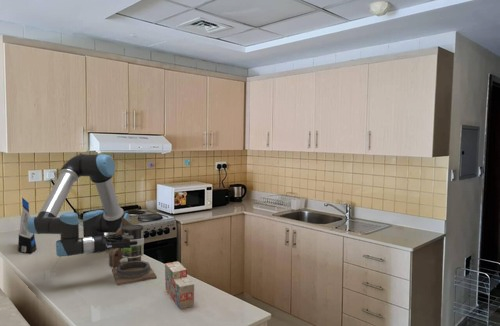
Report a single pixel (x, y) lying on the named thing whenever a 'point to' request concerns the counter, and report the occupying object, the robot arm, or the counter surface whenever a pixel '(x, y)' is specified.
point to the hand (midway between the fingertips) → (141, 238)
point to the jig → (133, 272)
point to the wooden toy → (119, 250)
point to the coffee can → (131, 234)
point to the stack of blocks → (179, 285)
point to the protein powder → (26, 232)
